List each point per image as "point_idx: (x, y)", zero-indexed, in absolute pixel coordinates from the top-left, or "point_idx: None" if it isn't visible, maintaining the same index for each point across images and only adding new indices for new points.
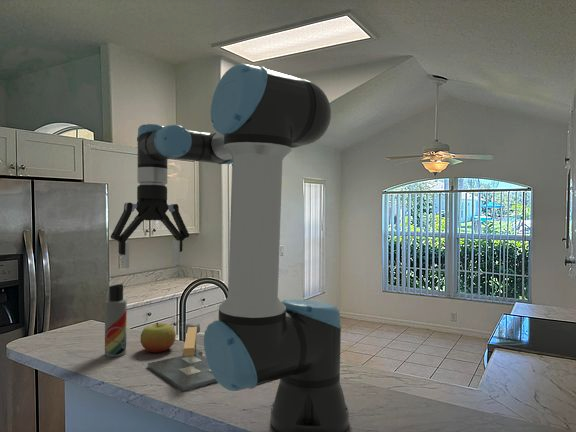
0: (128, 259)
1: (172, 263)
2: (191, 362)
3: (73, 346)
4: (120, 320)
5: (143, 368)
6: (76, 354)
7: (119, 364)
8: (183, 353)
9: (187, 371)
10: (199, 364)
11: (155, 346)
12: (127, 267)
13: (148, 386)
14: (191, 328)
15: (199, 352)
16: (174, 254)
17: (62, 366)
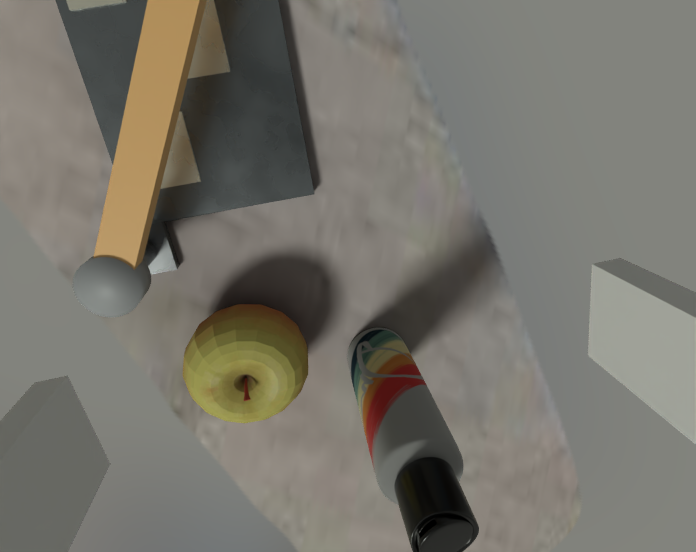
0: (666, 299)
1: (108, 466)
2: None
3: None
4: (393, 392)
5: (327, 187)
6: (467, 390)
7: (383, 257)
8: (177, 263)
9: (205, 28)
10: None
11: (267, 307)
12: (612, 263)
13: (346, 12)
14: (125, 233)
15: None
16: (36, 520)
17: (516, 309)
